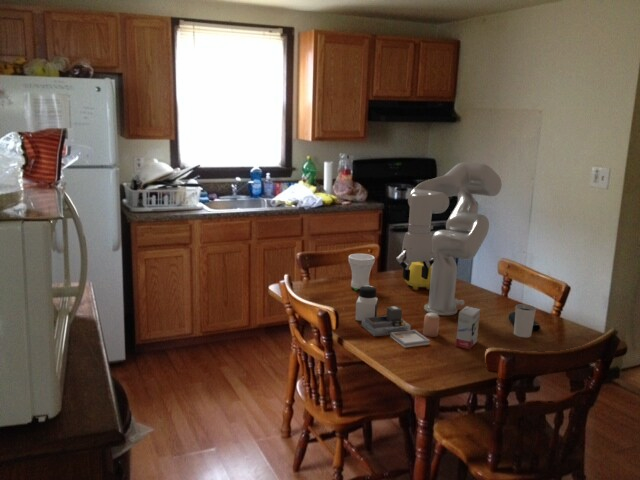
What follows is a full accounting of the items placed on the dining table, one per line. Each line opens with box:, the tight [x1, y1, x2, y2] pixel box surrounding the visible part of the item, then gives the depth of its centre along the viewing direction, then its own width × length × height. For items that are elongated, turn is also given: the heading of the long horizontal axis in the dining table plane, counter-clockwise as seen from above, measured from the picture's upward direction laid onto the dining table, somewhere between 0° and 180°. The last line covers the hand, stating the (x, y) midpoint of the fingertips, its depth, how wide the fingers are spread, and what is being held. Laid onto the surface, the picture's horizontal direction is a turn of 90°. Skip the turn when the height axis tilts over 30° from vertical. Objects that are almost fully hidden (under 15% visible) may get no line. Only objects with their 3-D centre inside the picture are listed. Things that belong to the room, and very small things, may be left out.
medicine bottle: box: [355, 285, 379, 322], centre depth 212 cm, size 7×7×12 cm
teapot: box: [404, 262, 432, 291], centre depth 251 cm, size 14×20×13 cm
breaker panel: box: [361, 315, 412, 337], centre depth 203 cm, size 14×10×4 cm
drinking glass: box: [513, 303, 537, 338], centre depth 202 cm, size 7×7×10 cm
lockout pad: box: [389, 329, 431, 348], centre depth 194 cm, size 10×10×1 cm
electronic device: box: [508, 311, 541, 332], centre depth 213 cm, size 9×6×15 cm
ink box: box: [455, 305, 481, 350], centre depth 192 cm, size 9×5×12 cm, turn 148°
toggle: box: [386, 305, 403, 321], centre depth 203 cm, size 4×4×5 cm
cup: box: [348, 253, 376, 292], centre depth 246 cm, size 11×11×14 cm
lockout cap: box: [422, 312, 440, 338], centre depth 200 cm, size 5×5×7 cm
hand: (415, 278), depth 203 cm, fingers open, 6 cm apart
